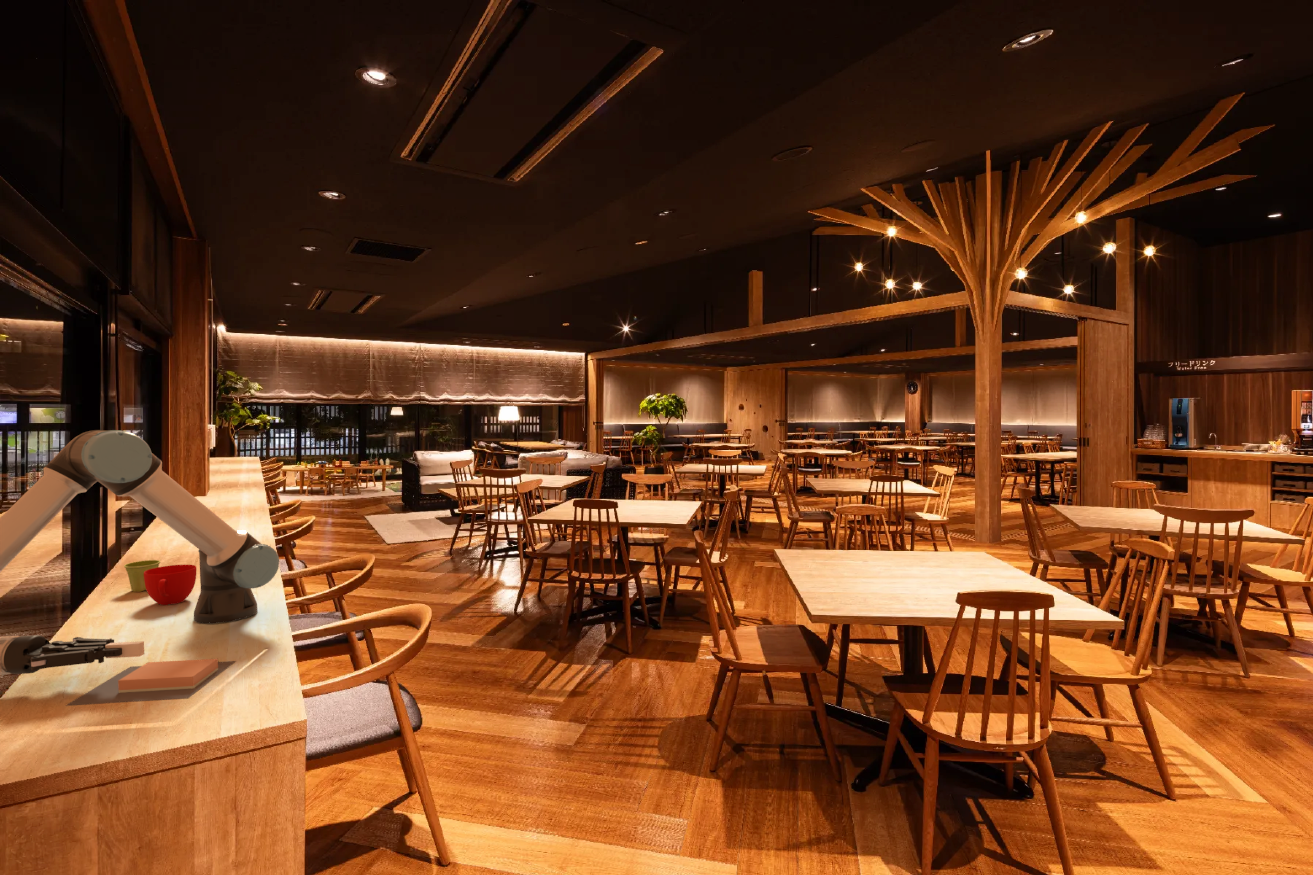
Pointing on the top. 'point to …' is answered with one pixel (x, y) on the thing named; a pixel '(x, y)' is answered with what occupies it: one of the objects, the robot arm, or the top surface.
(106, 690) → the mat
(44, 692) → the top surface
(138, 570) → the plant pot
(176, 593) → the ceramic cup
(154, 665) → the tile
